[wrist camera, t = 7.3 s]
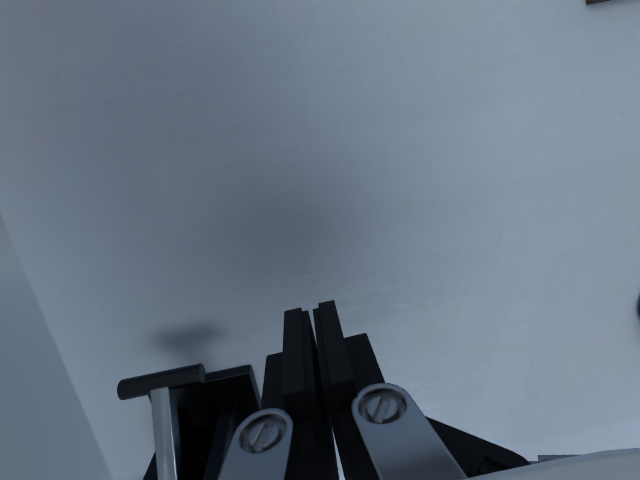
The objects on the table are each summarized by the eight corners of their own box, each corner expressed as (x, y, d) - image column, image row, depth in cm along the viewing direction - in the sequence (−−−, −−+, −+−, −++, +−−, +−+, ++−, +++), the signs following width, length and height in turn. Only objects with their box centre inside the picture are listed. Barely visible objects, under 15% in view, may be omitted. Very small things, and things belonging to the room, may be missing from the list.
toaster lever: (132, 376, 23) (109, 382, 21) (207, 361, 23) (193, 365, 21) (146, 573, 21) (123, 605, 18) (231, 554, 21) (218, 584, 18)
